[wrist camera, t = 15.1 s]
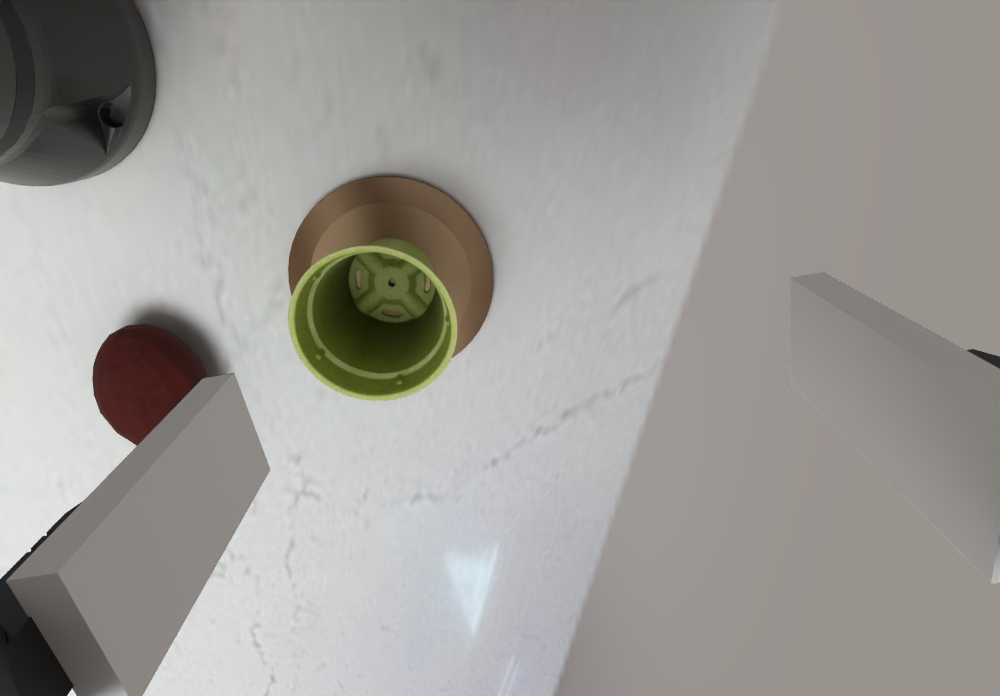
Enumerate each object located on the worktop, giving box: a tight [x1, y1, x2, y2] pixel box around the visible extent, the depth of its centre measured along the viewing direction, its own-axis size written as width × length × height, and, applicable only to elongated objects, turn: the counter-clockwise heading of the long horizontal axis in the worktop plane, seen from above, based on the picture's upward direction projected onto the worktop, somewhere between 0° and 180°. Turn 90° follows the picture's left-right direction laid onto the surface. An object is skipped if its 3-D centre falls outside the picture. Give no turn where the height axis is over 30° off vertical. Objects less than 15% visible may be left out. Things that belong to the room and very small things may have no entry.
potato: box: [93, 324, 207, 446], centre depth 44 cm, size 7×10×6 cm
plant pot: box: [288, 238, 458, 401], centre depth 39 cm, size 9×9×9 cm
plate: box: [288, 176, 493, 358], centre depth 44 cm, size 14×14×1 cm
